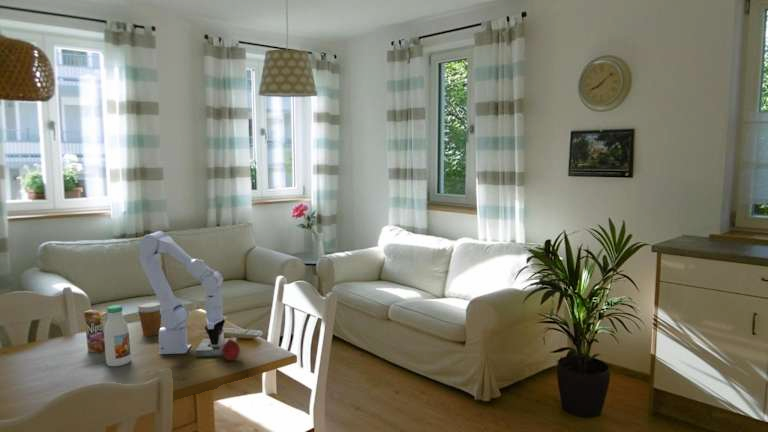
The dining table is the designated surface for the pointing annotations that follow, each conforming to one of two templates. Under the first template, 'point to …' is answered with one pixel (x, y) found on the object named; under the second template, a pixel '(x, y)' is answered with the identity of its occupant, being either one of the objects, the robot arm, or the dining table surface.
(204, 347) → the socket plate
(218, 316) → the robot arm
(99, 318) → the candy box
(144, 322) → the disposable coffee cup
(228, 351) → the onion
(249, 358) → the dining table surface
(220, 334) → the plug
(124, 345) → the milk bottle
